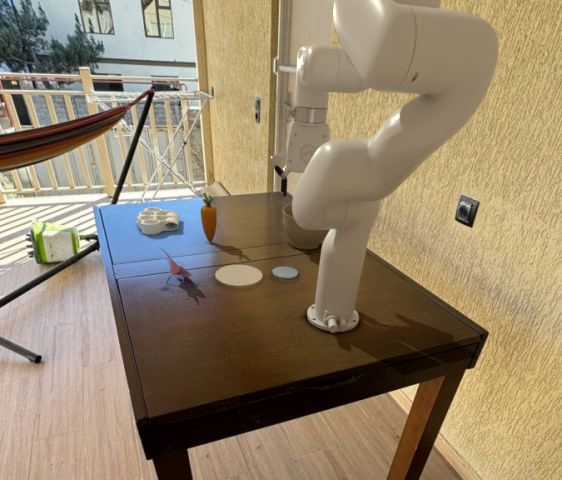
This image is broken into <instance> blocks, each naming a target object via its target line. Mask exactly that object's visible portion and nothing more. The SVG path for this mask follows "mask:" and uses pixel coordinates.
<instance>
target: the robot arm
mask: <svg viewBox="0 0 562 480" xmlns="http://www.w3.org/2000/svg"><path fill="white" fill-rule="evenodd" d="M332 15H333V26H334V30H335V33H336V36H337V38H338V41H339V42H340V44H328V43H327V44H326V43H313V44H309V45H308V44H306V45H302V46H301V47H299V49H298V52H297V56H296V57H297V59H296V73H295V74H296V75H295V92H294V93H295V94H294V105H293V107H292V108H287V117H291V118H292V119H293V121H291V122H290V123H289V126H288V134H287V140H286V149H284V150H282V151H280V152H278V153H276V154H275V155H273V156H271V157H270V161H271V164H272V166H273V170H274V171H275V172H276V174H277V175H278V176H279V177H280V193H282V195H283V197H287V194H288V193H287V192H288V191H287V190H288V176H289V174H290V173H299V174H301V176H300V179H299V181H298V182H297V184H296V186H295V188H294V192H293V196H292V201H291V204H292V213H293V217H294V220H295V221H296V223H297V224H298V225H299V226H300V227H301V228H303V229H305V230H328V229H329V231H328V233H327V235H326V236H325V238H324V239H323V242H322V245H321V249H320V257H319V265H318V274H317V281H316V289H315V298H314V303H313V304H312V305H310V306H309V307H308V309H307V311H306V313H307V315H306V319H307V321H308V322H309V323H310V324H311V325H313V326H314V327H316V328H318V329H320V330H323V331H326V332H330V333H332V334H335V333H341V332H342V333H343V332H347V331H348V332H349V331H350V330H352V329H355V328H356V327H357V325H358V324H359V321H360V315H359V313H358V312H357V310H356V303H357V298H358V294H359V293H358V292H359V289H360V284H361V283H360V282H361V278H362V274H363V268H364V263H365V259H366V253H367V248H368V244H369V241H370V237H371V233H372V231H373V228H374V226H375V223H376V221H377V218H378V215H379V213H380V210H381V206H382V200H384V199H386V198H388V197H390V196H391V195H392V194H393V193H395V191H397V189H398V188H399V187H400V186H402V185H403V183H405V181H406V180H407V179H409V177H411V176H412V175H413V174H414V172H416V171H417V170H418V169H419V168H420V167H421V166H422V165H423V163H424V162H425V161H427V159H429V158H430V157H431V156H432V155H433V154H434V153H436V152H437V151H438V150H439V149H440V148H441V147H442V146H444V145H445V144H447V143H448V142H449V141H450V140H451V139H452V138H453V137H455V136H456V135H457V134H458V133H459V132H460V131H461V130H462V129H463V128H464V127H465V126H466V125H467V123H468V122H469V121H470V120H471V118H472V117H473V116H474V115H475V113H476V112H477V110H478V109H479V107H480V106H481V104H482V103H483V101H484V99H485V98H486V95H487V93H488V90H489V88H490V86H491V84H492V81H493V78H494V75H495V72H496V68H497V64H498V58H499V50H500V49H499V48H500V46H499V45H500V44H499V38H498V34H497V32H496V30H495V28H494V27H493V26H492V25H491V23H490V22H489V21H487V20H486V19H484V18H483V17H481V16H479V15H477V14H473V13H471V12H467V11H462V10H454V9H448V8H441V0H333V11H332ZM368 89H371V90H373V91H376V92H381V93H389V94H390V93H393V94H414V95H415V94H416V95H417V96H416V97H414V98H413V99H411V100H409V101H407V102H406V103H404V104H403V105H401V106H400V107H399V108H397V109H396V110H395V111H394V112H392V113H391V115H389V116H388V117H387V118H386V119H385V121H384V122H383V123H382V125H381V127H380V128H379V129H378V130H377V131H376V132H375V134H373V135H372V136H370V137H367V138H358V139H357V138H356V139H355V138H354V139H353V138H351V139H350V138H349V139H348V138H347V139H346V138H345V139H344V138H343V139H341V138H340V139H332V140H331V139H330V138H331V134H330V133H331V131H330V130H331V129H330V124H328V123H327V118H328V110H329V100H330V93H335V94H336V93H337V94H358V93H362V92H365V91H366V90H367V91H368ZM284 158H285V166H284V168H283V169H282V168H281V167H280V165H279V163H278V162H279V161H281V160H283V159H284Z"/></svg>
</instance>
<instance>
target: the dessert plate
mask: <svg viewBox="0 0 562 480" xmlns="http://www.w3.org/2000/svg"><path fill="white" fill-rule="evenodd" d="M214 276H215V279H216V280H217V281H219V282H220V283H222V284H225V285H228V286H235V287H238V286H239V287H244V286H250V285H254V284H256V283H259V282H260V281H261V280H262V279H263V272H262V271H261V270H259V269H258V268H257V267H254V266H251V265H247V264H229V265H225V266H222V267H220V268H219V269H217V270H216V272H215V273H214Z"/></svg>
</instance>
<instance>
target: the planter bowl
mask: <svg viewBox="0 0 562 480" xmlns="http://www.w3.org/2000/svg"><path fill="white" fill-rule="evenodd" d="M282 222H283V228H284V231H285V233H286V235H287V238H288V239H289V241H290V242H289V243H290V245H291V246H292V247H294V248H296V249H298V250H299V249H300V250H306V251H307V250H308V251H309V250H315V249H317V248H319V246H320V243H322V241H324V240H325V238H326V236H327V234H328V233H329V231H330V229H328V230H305V229H303V228H301V227H300V226H299V225H298V224H297V223H296V221H295V220H294V217H293V213H292V203H290V204H287V205H285V206H284V207H282Z"/></svg>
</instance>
